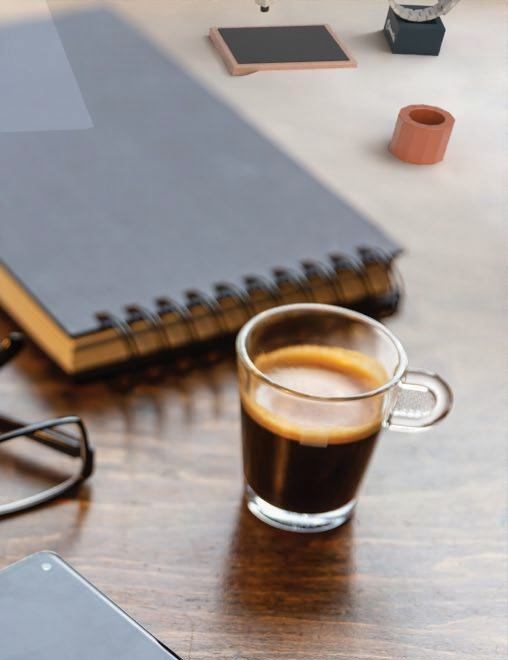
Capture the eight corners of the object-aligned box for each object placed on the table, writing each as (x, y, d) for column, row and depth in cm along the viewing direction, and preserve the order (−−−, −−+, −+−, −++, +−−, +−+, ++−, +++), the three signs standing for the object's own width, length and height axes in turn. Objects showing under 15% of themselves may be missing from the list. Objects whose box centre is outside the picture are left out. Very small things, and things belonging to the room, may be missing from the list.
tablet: (325, 31, 132) (327, 22, 132) (355, 72, 126) (358, 62, 125) (208, 35, 132) (210, 25, 131) (232, 75, 125) (234, 66, 124)
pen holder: (426, 156, 113) (442, 103, 110) (446, 182, 110) (463, 128, 107) (376, 158, 113) (391, 105, 110) (394, 184, 110) (410, 130, 107)
